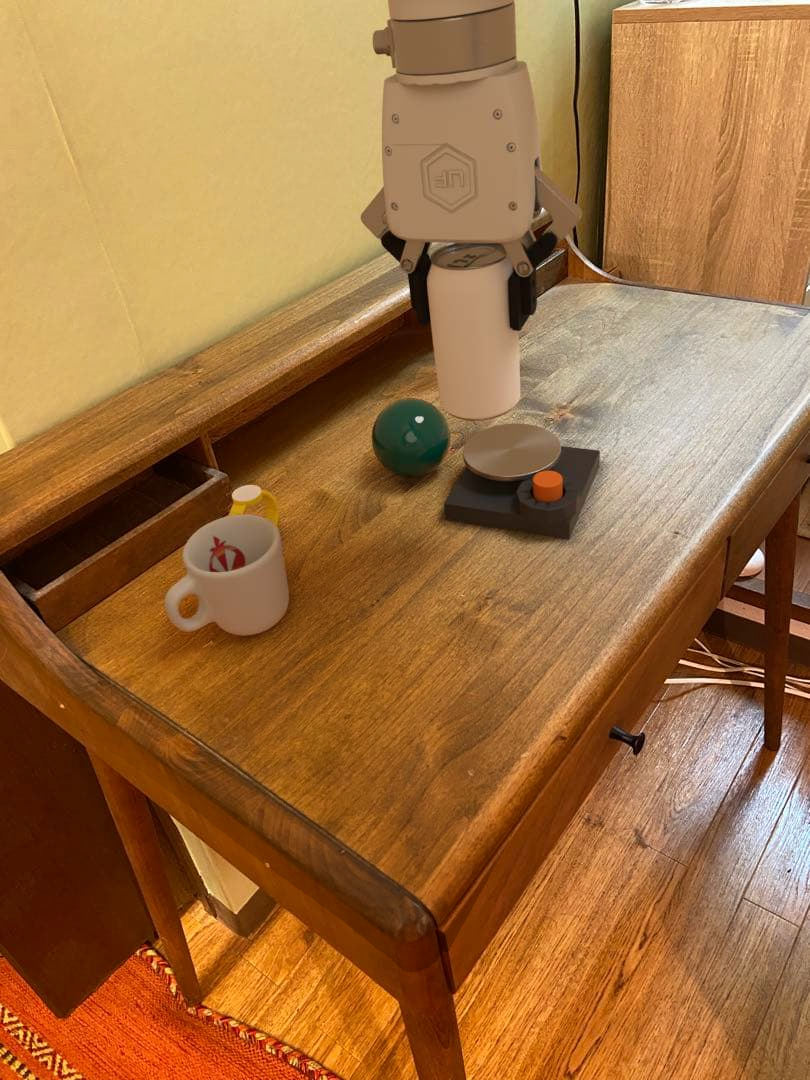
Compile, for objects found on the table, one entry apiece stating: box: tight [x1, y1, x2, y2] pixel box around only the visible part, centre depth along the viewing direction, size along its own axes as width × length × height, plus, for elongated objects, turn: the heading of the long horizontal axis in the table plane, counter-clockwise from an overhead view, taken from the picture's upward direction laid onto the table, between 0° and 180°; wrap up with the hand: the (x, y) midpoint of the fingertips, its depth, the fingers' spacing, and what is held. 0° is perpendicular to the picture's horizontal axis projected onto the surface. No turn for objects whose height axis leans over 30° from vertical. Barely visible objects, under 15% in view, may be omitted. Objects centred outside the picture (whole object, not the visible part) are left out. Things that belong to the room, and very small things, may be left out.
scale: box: [443, 445, 601, 540], centre depth 79 cm, size 12×13×4 cm
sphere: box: [371, 397, 451, 479], centre depth 83 cm, size 8×8×8 cm
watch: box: [228, 484, 280, 527], centre depth 77 cm, size 6×3×6 cm, turn 151°
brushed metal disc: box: [462, 422, 562, 481], centre depth 79 cm, size 9×9×1 cm
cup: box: [164, 513, 290, 636], centre depth 68 cm, size 11×8×8 cm
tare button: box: [533, 471, 563, 502], centre depth 74 cm, size 3×3×2 cm
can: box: [427, 243, 521, 422], centre depth 62 cm, size 6×6×12 cm
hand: (474, 318), depth 61 cm, fingers closed on can, 6 cm apart
